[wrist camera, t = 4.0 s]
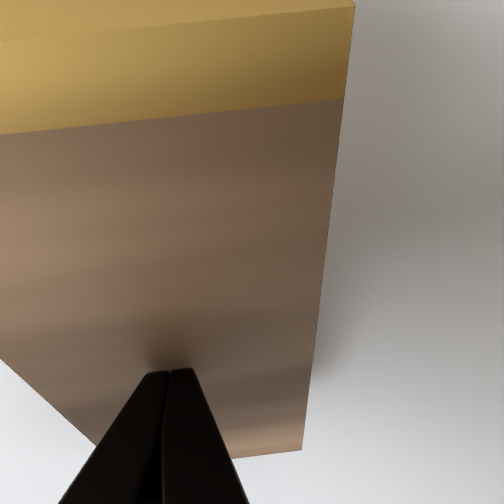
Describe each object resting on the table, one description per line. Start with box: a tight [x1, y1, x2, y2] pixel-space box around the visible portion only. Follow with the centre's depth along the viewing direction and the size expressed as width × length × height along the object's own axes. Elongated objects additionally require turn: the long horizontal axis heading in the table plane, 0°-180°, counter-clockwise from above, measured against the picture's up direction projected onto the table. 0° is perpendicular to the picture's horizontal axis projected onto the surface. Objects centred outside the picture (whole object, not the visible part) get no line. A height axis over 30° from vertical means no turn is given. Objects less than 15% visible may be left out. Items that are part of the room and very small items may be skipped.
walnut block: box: [0, 0, 355, 459], centre depth 10 cm, size 5×5×12 cm
